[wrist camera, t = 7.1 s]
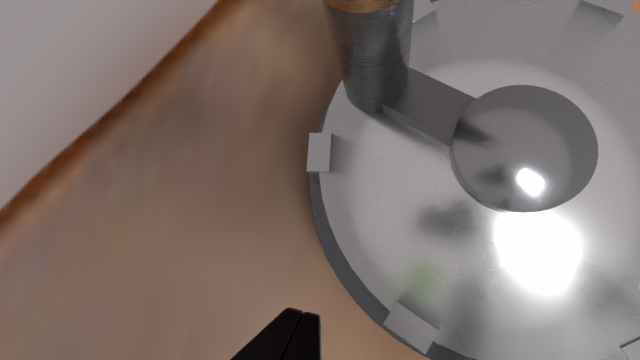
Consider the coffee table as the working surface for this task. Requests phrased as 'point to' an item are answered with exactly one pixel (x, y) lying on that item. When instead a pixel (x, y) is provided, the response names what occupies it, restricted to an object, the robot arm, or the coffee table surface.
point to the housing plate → (363, 297)
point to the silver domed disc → (489, 172)
